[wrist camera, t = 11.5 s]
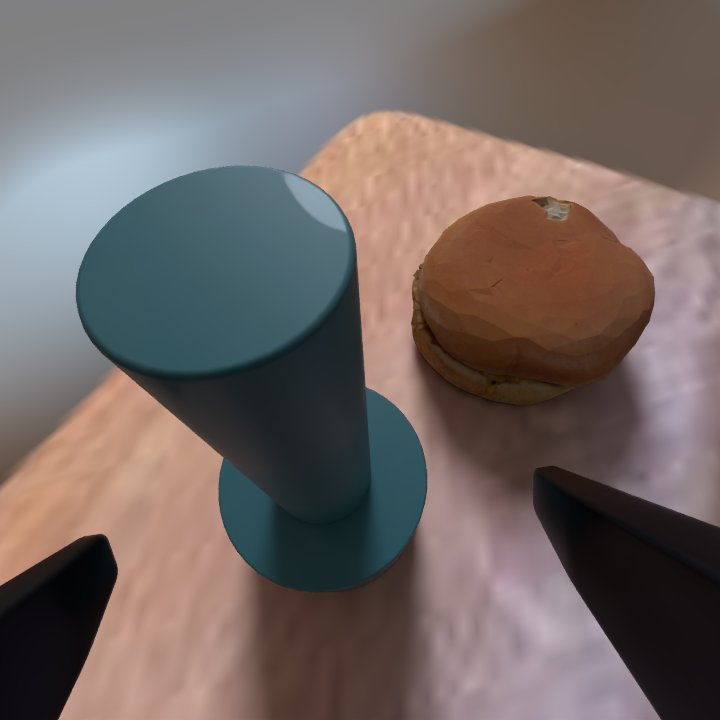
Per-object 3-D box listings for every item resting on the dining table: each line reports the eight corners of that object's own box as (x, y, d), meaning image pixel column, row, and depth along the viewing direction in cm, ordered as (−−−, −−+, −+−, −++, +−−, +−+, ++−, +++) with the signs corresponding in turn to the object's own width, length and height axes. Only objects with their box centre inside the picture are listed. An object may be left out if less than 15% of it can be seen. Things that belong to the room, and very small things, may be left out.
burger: (412, 408, 18) (422, 355, 14) (410, 251, 23) (417, 178, 19) (643, 414, 18) (721, 362, 14) (594, 253, 22) (641, 177, 18)
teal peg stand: (345, 634, 14) (161, 873, 2) (223, 513, 17) (-214, 297, 4) (447, 487, 17) (632, 208, 5) (328, 397, 19) (234, 42, 7)
